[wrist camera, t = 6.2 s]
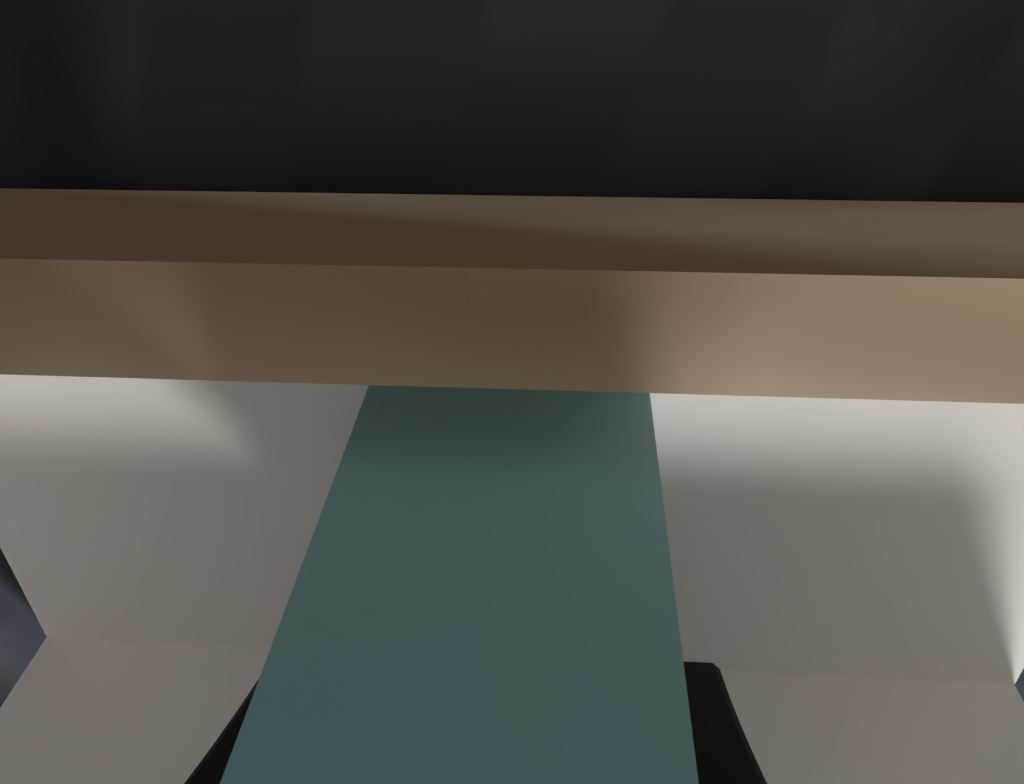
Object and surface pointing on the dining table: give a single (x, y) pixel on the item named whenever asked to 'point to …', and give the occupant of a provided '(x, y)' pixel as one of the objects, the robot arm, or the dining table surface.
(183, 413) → the cleat board
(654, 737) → the teal block
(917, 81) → the dining table surface
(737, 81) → the dining table surface
